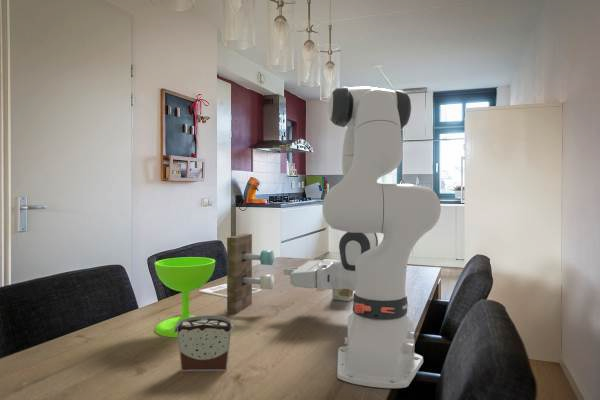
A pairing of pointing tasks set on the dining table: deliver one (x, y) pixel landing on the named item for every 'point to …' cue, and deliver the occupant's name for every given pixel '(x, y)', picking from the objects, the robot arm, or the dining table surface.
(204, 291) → the photo frame
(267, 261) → the knob upper
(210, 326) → the food container
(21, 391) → the dining table surface
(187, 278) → the wineglass
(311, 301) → the dining table surface
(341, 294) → the skincare box
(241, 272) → the block
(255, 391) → the dining table surface
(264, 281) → the knob lower
